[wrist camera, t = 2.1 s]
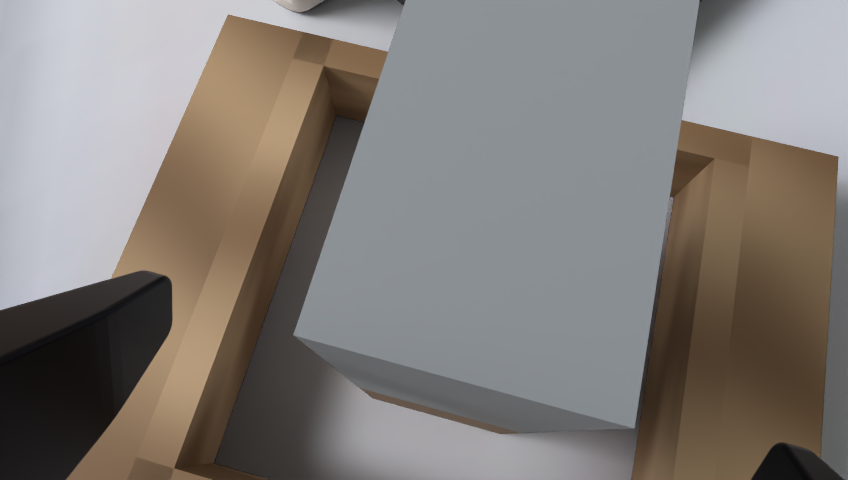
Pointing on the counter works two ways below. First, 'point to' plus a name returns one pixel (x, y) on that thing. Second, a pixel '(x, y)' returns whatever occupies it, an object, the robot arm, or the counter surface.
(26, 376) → the robot arm
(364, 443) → the counter surface
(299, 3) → the eye dropper bottle
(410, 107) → the box
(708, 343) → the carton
